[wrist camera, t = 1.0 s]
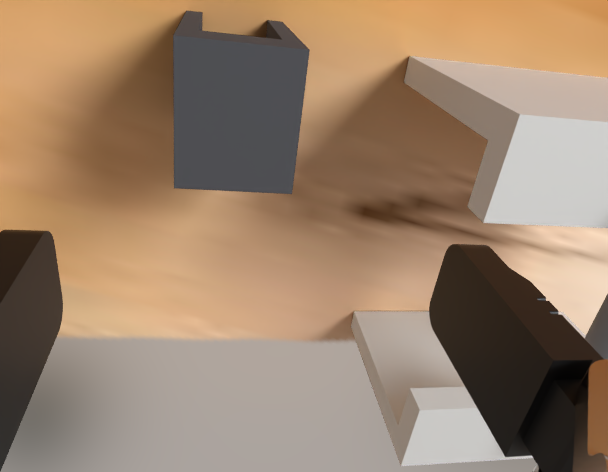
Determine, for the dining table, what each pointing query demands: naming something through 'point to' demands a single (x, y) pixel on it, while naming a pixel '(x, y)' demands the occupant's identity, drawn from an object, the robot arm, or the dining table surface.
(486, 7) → the dining table surface
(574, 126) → the white channel bracket
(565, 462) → the robot arm
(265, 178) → the gray u-channel post
